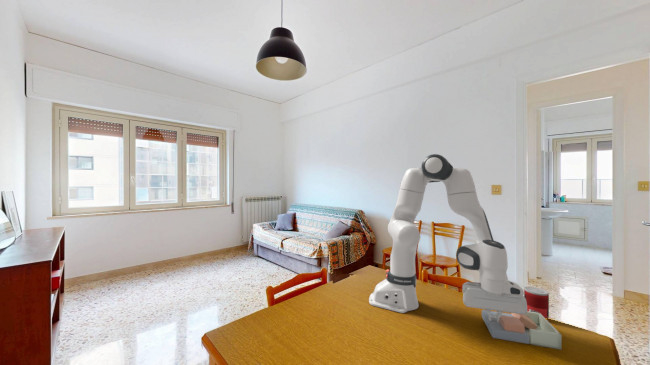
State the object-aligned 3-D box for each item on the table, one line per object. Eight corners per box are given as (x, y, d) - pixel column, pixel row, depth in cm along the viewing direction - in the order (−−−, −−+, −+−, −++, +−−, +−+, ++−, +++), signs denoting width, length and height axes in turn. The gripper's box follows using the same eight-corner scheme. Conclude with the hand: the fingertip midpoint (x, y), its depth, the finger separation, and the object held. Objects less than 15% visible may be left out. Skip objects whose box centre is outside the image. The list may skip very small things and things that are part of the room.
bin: (530, 344, 88) (530, 329, 88) (514, 321, 102) (514, 309, 102) (561, 349, 85) (561, 334, 85) (540, 325, 99) (540, 313, 99)
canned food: (553, 321, 102) (553, 294, 102) (530, 319, 104) (530, 293, 104) (541, 312, 110) (541, 287, 110) (520, 310, 111) (520, 285, 111)
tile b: (504, 330, 91) (504, 323, 91) (499, 321, 97) (499, 314, 97) (524, 333, 89) (524, 326, 89) (517, 324, 95) (517, 317, 95)
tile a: (517, 321, 96) (520, 316, 96) (511, 313, 102) (514, 308, 101) (533, 331, 94) (537, 326, 94) (527, 323, 100) (530, 318, 100)
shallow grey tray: (492, 337, 92) (492, 329, 92) (481, 316, 106) (481, 309, 106) (529, 344, 88) (529, 335, 88) (512, 321, 102) (513, 314, 102)
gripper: (463, 284, 96) (464, 320, 95) (529, 291, 89) (529, 330, 89) (460, 278, 101) (461, 312, 101) (521, 284, 95) (522, 321, 95)
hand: (493, 321), depth 95 cm, fingers closed
